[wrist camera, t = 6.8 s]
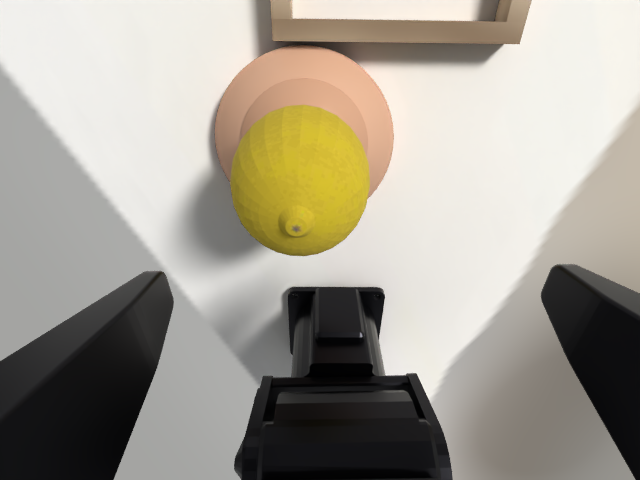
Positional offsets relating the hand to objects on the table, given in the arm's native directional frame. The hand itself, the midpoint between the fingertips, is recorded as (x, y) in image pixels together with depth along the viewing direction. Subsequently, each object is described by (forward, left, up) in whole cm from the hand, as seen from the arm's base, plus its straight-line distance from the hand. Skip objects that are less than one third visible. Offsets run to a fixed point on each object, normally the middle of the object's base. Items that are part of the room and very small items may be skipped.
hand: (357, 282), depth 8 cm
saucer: (0, +2, -12) cm, 12 cm away
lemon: (0, +2, -11) cm, 11 cm away
